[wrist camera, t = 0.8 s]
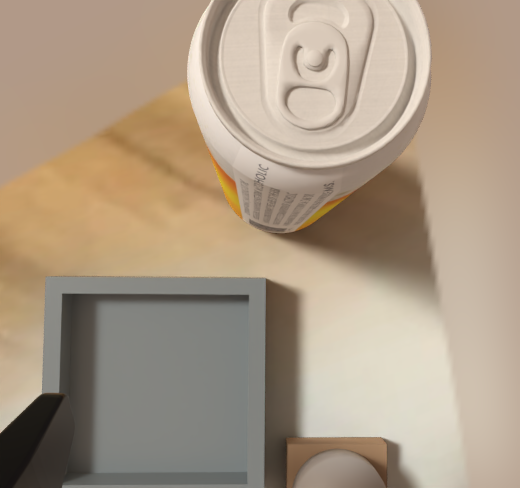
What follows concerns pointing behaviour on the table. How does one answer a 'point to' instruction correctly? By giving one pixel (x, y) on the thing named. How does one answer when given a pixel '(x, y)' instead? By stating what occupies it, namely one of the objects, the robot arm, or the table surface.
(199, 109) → the beer can
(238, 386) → the tray
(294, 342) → the table surface
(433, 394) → the table surface
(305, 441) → the desk bell
